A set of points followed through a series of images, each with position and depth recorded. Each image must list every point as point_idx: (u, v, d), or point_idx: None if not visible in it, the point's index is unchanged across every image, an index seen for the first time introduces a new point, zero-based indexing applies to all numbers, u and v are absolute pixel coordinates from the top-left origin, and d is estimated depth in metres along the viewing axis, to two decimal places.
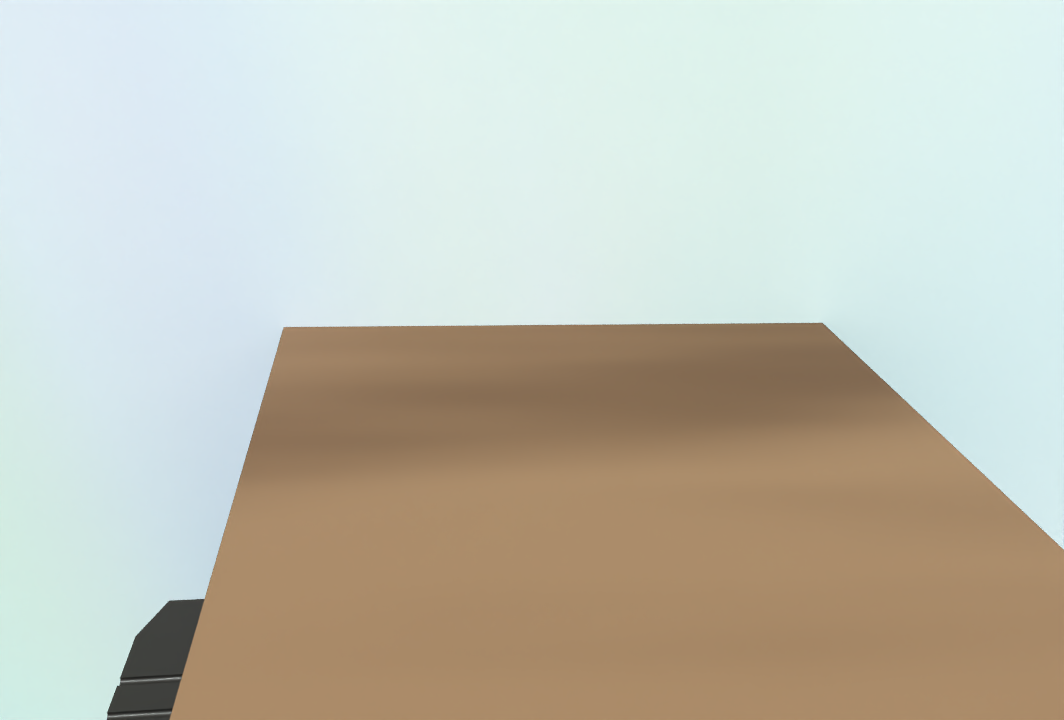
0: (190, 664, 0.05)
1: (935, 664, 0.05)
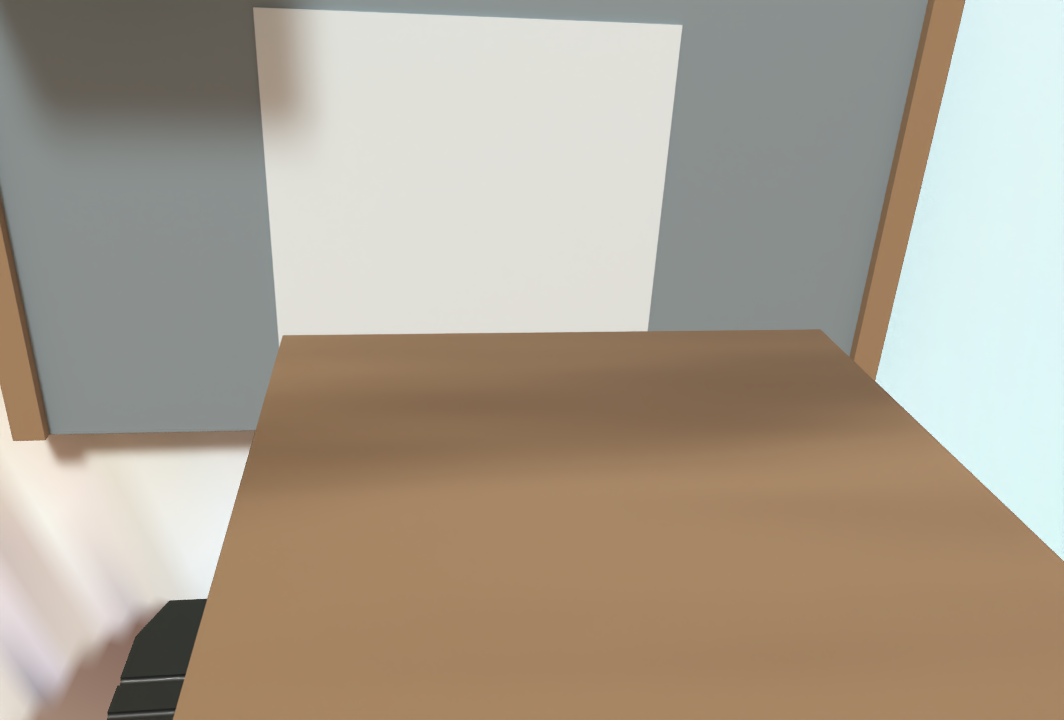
0: (189, 676, 0.05)
1: (932, 675, 0.05)
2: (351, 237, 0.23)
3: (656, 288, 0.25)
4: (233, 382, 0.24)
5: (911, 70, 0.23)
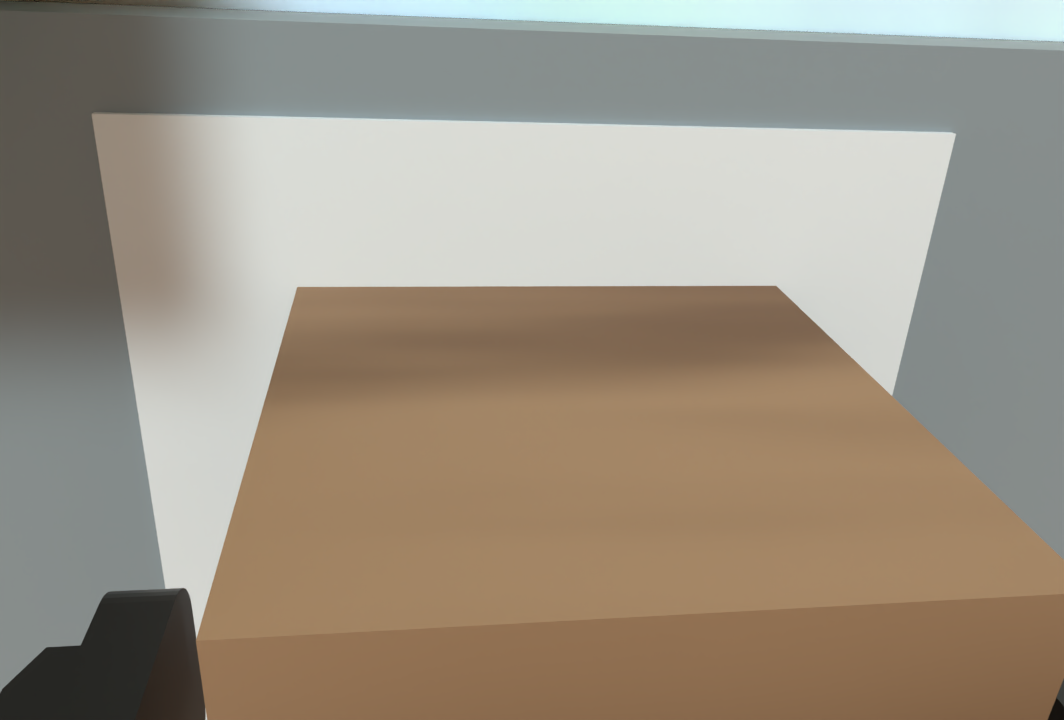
0: (231, 532, 0.07)
1: (834, 534, 0.07)
2: None
3: None
4: None
5: None
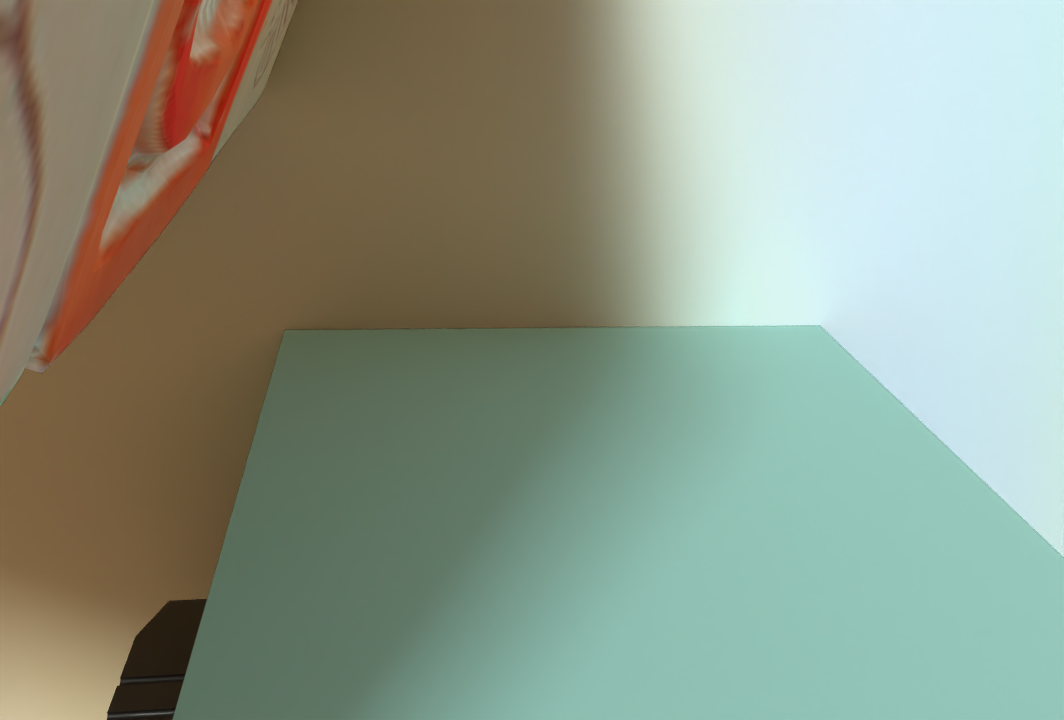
0: None
1: None
2: None
3: None
4: None
5: None
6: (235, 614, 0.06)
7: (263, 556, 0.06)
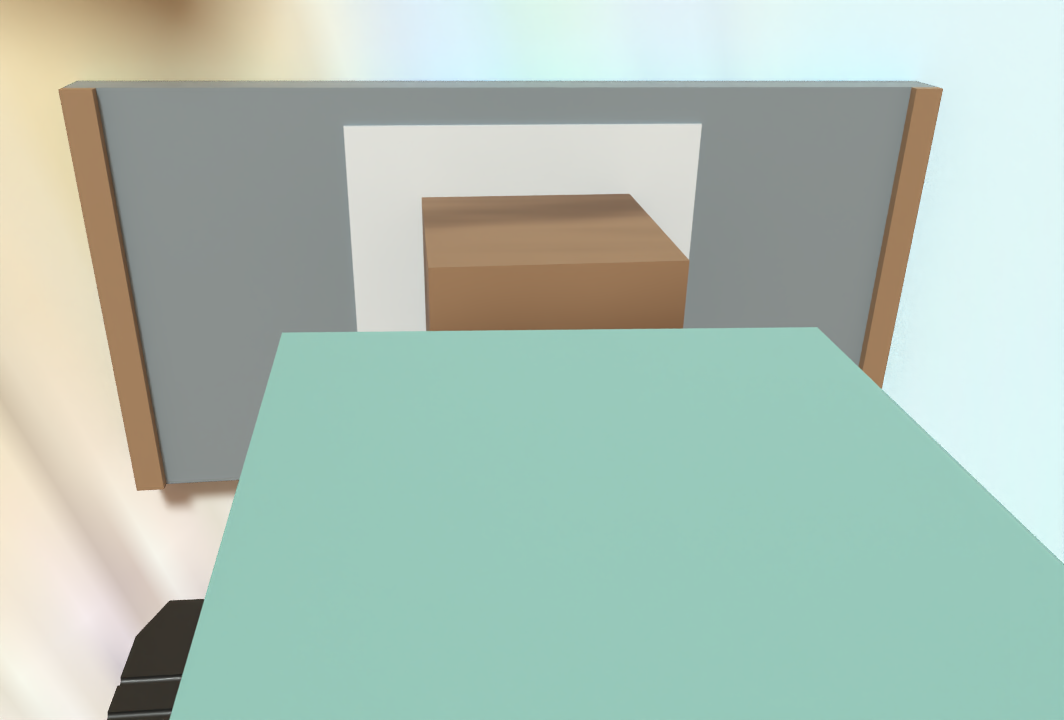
0: (426, 253, 0.21)
1: (615, 251, 0.21)
2: (423, 309, 0.27)
3: None
4: None
5: (898, 151, 0.27)
6: (232, 618, 0.06)
7: (260, 559, 0.06)
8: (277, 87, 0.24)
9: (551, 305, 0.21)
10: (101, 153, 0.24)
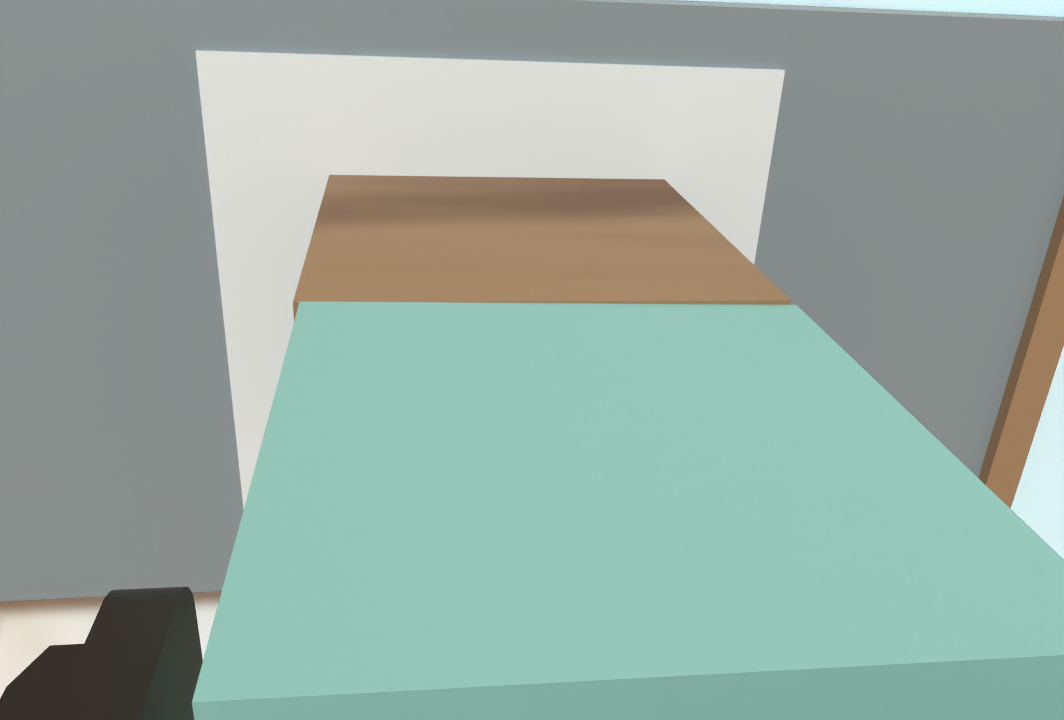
0: (303, 273, 0.12)
1: (650, 278, 0.12)
2: None
3: None
4: (182, 535, 0.19)
5: None
6: (265, 534, 0.06)
7: (288, 488, 0.07)
8: None
9: None
10: None
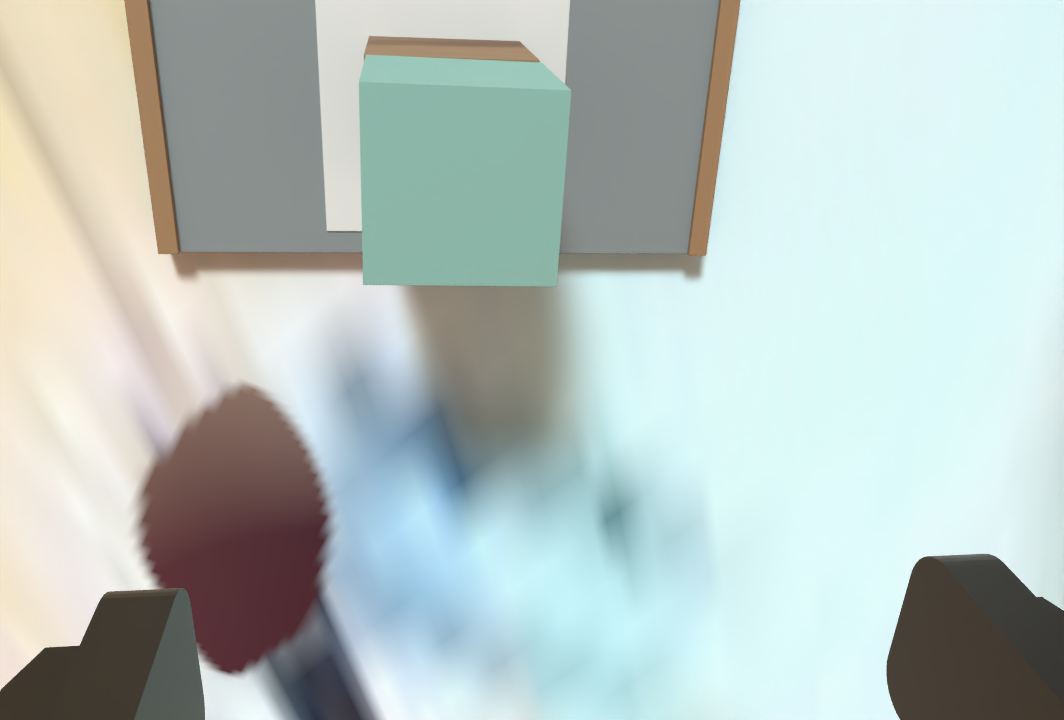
0: (365, 52, 0.32)
1: (492, 56, 0.32)
2: None
3: None
4: (295, 218, 0.39)
5: (716, 19, 0.37)
6: (367, 74, 0.27)
7: (371, 71, 0.27)
8: None
9: None
10: None
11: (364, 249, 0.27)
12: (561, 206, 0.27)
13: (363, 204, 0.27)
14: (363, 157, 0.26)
